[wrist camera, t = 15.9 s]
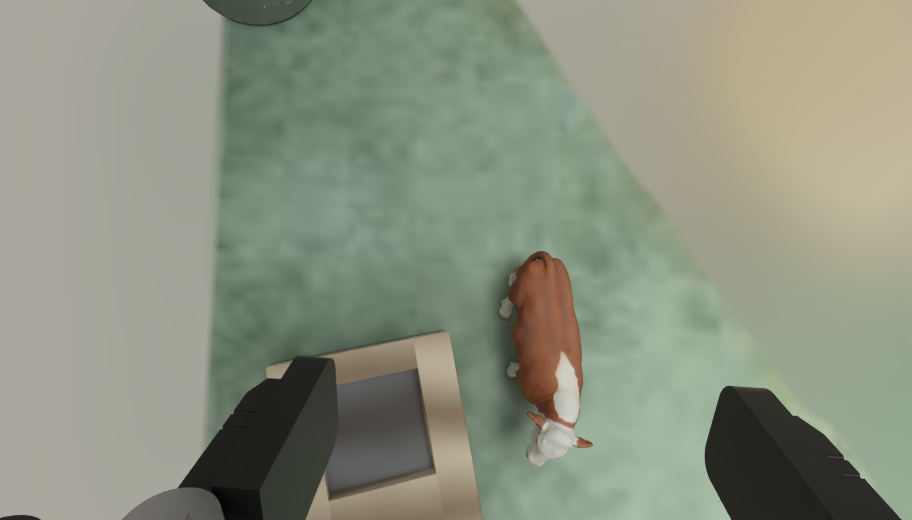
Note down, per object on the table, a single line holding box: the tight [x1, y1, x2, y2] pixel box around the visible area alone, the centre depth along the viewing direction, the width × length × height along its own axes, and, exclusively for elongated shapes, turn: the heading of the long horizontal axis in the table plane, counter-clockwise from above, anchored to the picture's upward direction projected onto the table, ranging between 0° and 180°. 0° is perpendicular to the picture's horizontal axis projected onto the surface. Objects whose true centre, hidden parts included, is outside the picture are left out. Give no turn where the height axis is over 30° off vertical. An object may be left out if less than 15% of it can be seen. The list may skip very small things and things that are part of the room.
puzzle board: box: [265, 330, 483, 520], centre depth 34 cm, size 22×12×2 cm, turn 11°
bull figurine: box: [498, 251, 593, 466], centre depth 34 cm, size 4×13×8 cm, turn 0°
